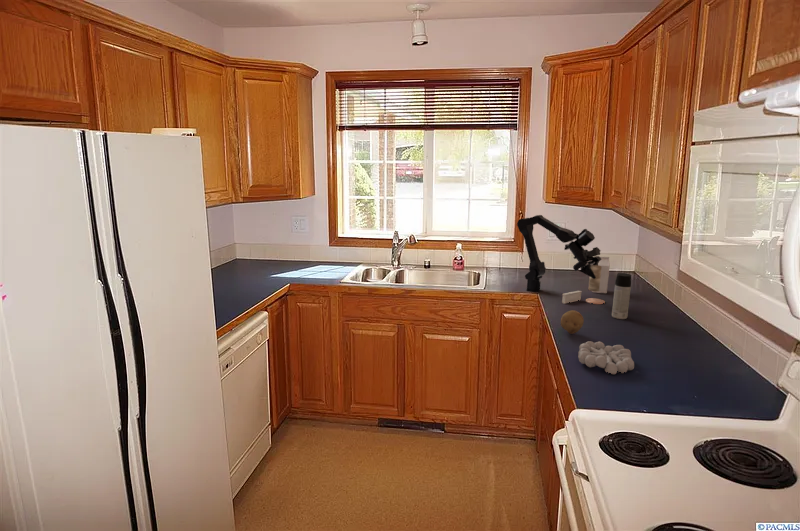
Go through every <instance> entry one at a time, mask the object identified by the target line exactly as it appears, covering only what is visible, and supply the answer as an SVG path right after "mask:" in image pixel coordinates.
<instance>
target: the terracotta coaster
mask: <svg viewBox="0 0 800 531" xmlns="http://www.w3.org/2000/svg"><path fill="white" fill-rule="evenodd" d="M585 302H586V303H588V304H591V303H593V304H592V305H604V304H605V303H606V300H603V299H601V298H595V297H591V298H590V297H589V298H586V299H585ZM603 303H604V304H603Z"/></svg>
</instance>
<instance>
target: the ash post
mask: <svg viewBox="0 0 800 531" xmlns="http://www.w3.org/2000/svg"><path fill="white" fill-rule="evenodd" d="M591 269H592V271H593V273H594V275H595V276H596V278H595V279H593V278H592V277H590V276H589V279H588V291H590V292H592V291H599V287H600V277H601V266H598V265H591Z"/></svg>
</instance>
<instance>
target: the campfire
mask: <svg viewBox="0 0 800 531" xmlns="http://www.w3.org/2000/svg"><path fill="white" fill-rule="evenodd" d="M577 353H578V355H577V356H578V361H579V363H581V364H583V365H586V366H587V367H588V368H594V367H596V366H597V367H599V368H601V369H604V371H605V372H606V373H607V372H608V373H607V374H609V373H611V374H610V375H616V374H617V373H619V372H621V373H620V374H624V372H625V373H627V372H628V371H633V370H634V368H635V361H634V360H633V358H632V352H631V350H630V349H629V348H625V347H624V346H623V345H622V344H616V345H615V344H614V345H613V346H612V345H605V343H603V342H602V341H596V342H593V341H589V340H588V341H586V342H584V343H580V345H579V351H578V352H577ZM617 371H618V372H617Z"/></svg>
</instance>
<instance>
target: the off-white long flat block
mask: <svg viewBox="0 0 800 531" xmlns="http://www.w3.org/2000/svg"><path fill="white" fill-rule="evenodd" d="M582 294H583V291H582V290H575V291H570V292H565V293H562V300H561V303H562V304H564V305H565V304H569V302H570V303H573V302H578V300H579V301H581V297H582Z"/></svg>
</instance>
